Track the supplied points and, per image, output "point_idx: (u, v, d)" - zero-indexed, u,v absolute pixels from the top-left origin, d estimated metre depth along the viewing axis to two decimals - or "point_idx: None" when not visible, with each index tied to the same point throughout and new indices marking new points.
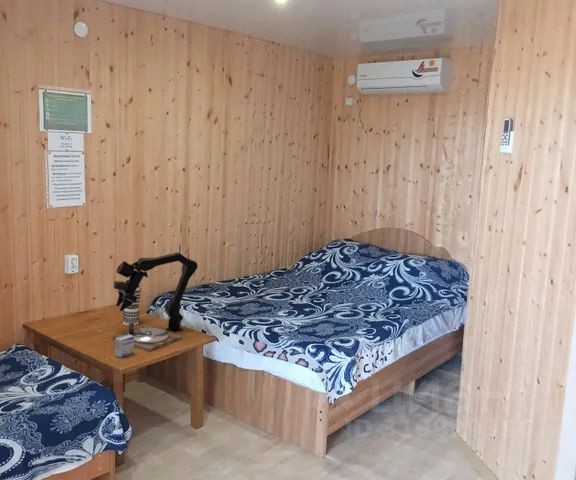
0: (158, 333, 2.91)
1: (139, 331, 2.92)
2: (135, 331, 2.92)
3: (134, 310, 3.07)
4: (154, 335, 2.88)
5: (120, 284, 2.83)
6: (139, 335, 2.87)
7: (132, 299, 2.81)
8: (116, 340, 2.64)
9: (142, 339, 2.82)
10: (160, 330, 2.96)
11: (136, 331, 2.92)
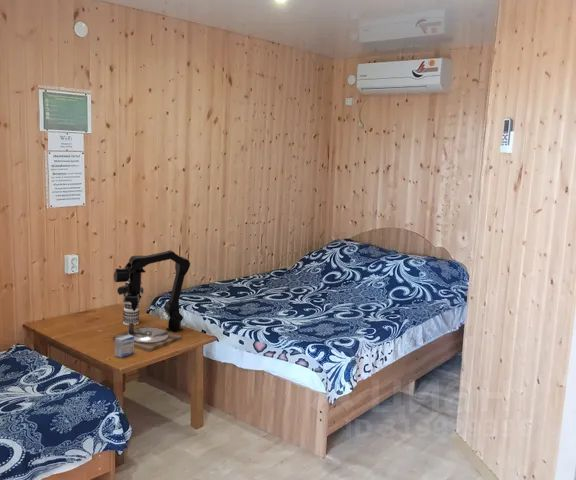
0: (158, 333, 2.91)
1: (139, 331, 2.92)
2: (135, 331, 2.92)
3: None
4: (154, 335, 2.88)
5: (119, 290, 2.86)
6: (139, 335, 2.87)
7: (133, 300, 2.82)
8: (116, 340, 2.64)
9: (142, 339, 2.82)
10: (160, 330, 2.96)
11: (136, 331, 2.92)
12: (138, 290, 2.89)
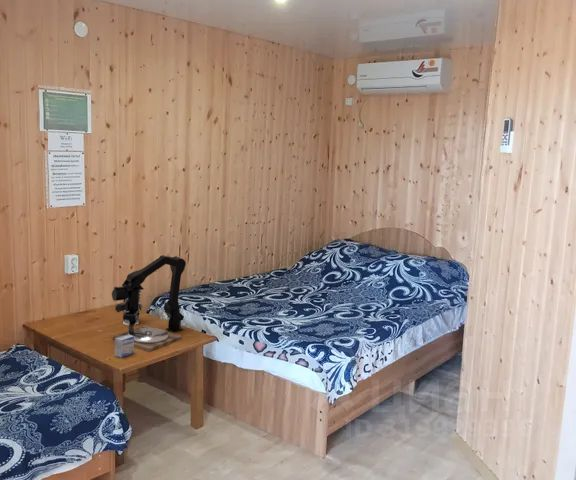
0: (158, 333, 2.91)
1: (139, 331, 2.92)
2: (135, 331, 2.92)
3: None
4: (154, 335, 2.88)
5: (117, 307, 2.84)
6: (139, 335, 2.87)
7: (130, 318, 2.80)
8: (116, 340, 2.64)
9: (142, 339, 2.82)
10: (160, 330, 2.96)
11: (136, 331, 2.92)
12: (136, 308, 2.87)
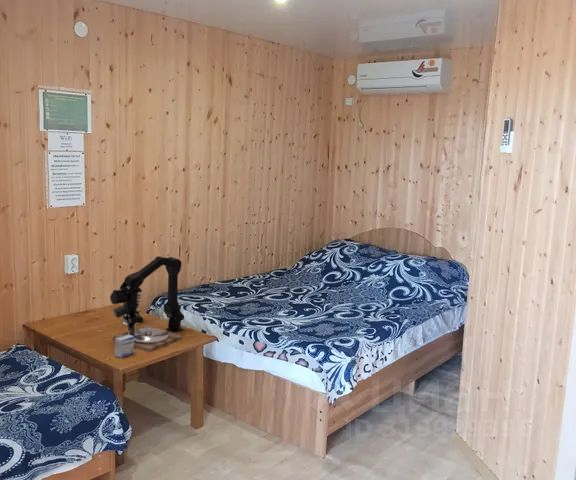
0: (156, 332, 2.93)
1: (136, 333, 2.89)
2: None
3: None
4: (155, 334, 2.90)
5: (120, 312, 2.77)
6: (142, 336, 2.85)
7: (139, 321, 2.78)
8: (116, 340, 2.64)
9: (151, 339, 2.82)
10: (152, 328, 2.98)
11: None
12: (136, 310, 2.84)
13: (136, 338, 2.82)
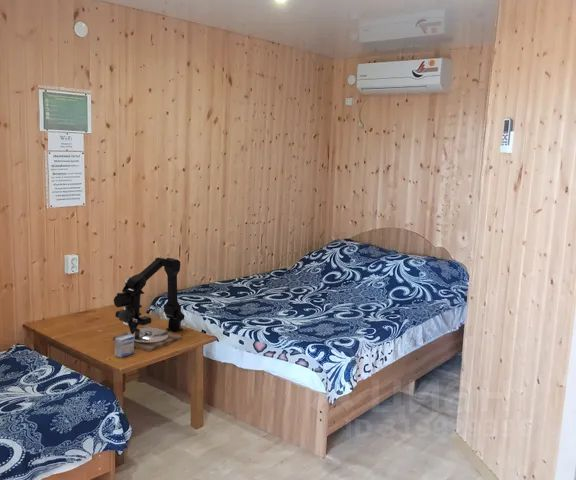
0: (152, 331, 2.94)
1: None
2: None
3: None
4: (154, 333, 2.92)
5: (130, 316, 2.73)
6: (146, 337, 2.85)
7: (148, 322, 2.78)
8: (116, 340, 2.64)
9: (158, 338, 2.85)
10: (144, 328, 2.97)
11: (134, 336, 2.85)
12: None
13: (143, 339, 2.81)
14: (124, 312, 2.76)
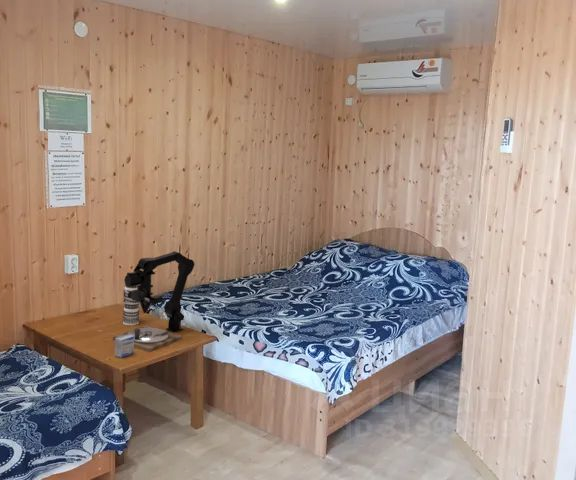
0: (152, 331, 2.94)
1: None
2: None
3: (134, 310, 3.07)
4: (154, 333, 2.92)
5: (142, 295, 2.81)
6: (146, 337, 2.85)
7: (160, 300, 2.86)
8: (116, 340, 2.64)
9: (158, 338, 2.85)
10: (144, 328, 2.97)
11: (134, 336, 2.85)
12: (150, 291, 2.90)
13: (143, 339, 2.81)
14: (136, 292, 2.84)
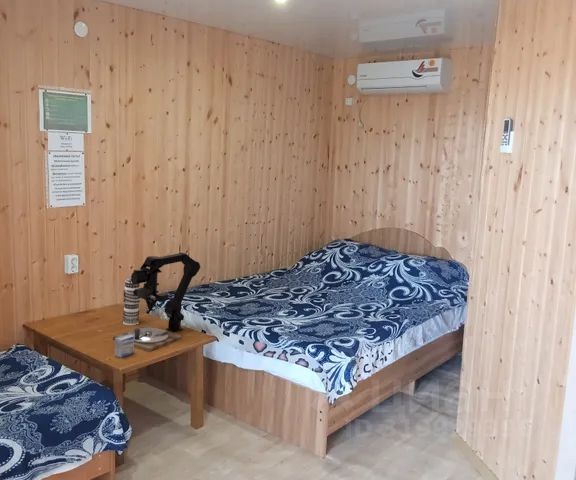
0: (152, 331, 2.94)
1: None
2: None
3: (134, 310, 3.07)
4: (154, 333, 2.92)
5: (148, 293, 2.84)
6: (146, 337, 2.85)
7: (166, 298, 2.89)
8: (116, 340, 2.64)
9: (158, 338, 2.85)
10: (144, 328, 2.97)
11: (134, 336, 2.85)
12: (156, 289, 2.93)
13: (143, 339, 2.81)
14: (142, 289, 2.87)
